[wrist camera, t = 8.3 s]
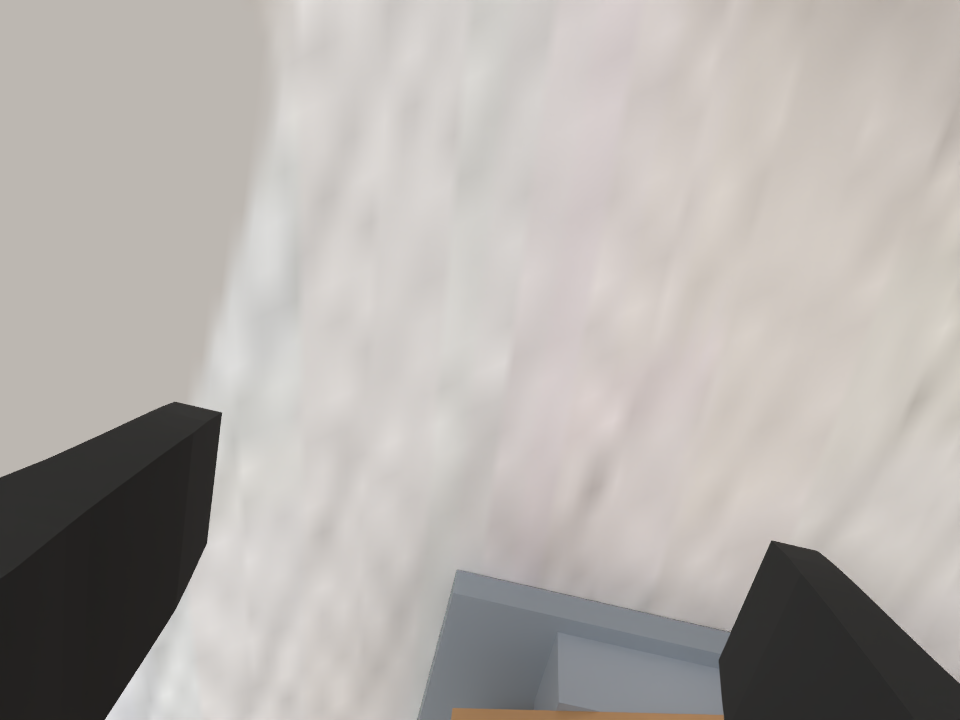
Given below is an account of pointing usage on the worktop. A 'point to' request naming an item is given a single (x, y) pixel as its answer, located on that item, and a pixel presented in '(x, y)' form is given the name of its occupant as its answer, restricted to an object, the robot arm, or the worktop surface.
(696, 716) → the tan c-shaped bracket
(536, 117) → the worktop surface
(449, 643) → the display stand
